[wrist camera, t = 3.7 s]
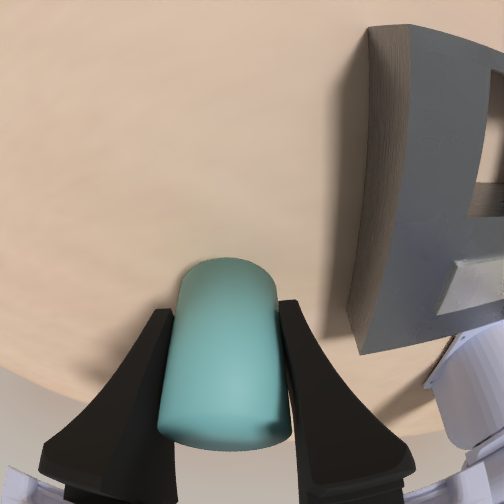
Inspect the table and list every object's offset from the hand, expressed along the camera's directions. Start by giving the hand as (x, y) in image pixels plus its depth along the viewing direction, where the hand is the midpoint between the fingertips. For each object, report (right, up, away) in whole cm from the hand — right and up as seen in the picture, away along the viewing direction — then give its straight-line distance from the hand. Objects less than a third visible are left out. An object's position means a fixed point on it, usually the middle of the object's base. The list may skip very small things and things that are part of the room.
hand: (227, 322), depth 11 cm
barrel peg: (0, +1, +1) cm, 2 cm away
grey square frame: (+12, +5, 0) cm, 13 cm away
